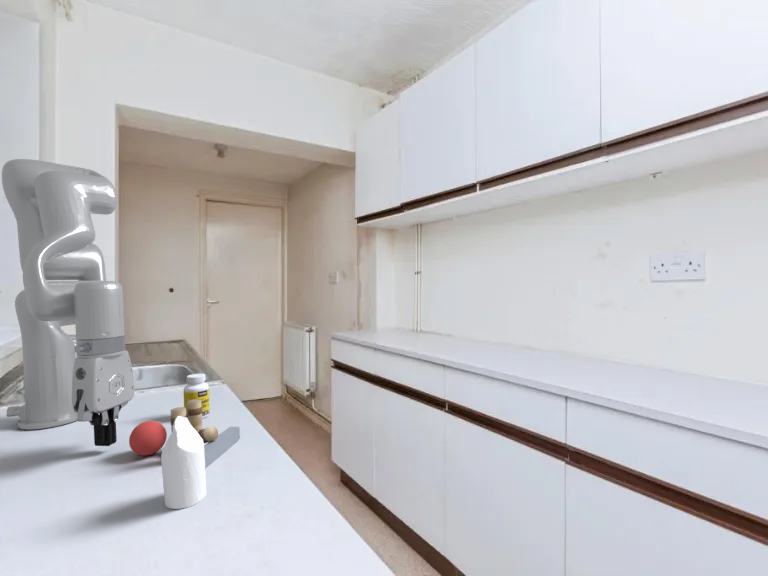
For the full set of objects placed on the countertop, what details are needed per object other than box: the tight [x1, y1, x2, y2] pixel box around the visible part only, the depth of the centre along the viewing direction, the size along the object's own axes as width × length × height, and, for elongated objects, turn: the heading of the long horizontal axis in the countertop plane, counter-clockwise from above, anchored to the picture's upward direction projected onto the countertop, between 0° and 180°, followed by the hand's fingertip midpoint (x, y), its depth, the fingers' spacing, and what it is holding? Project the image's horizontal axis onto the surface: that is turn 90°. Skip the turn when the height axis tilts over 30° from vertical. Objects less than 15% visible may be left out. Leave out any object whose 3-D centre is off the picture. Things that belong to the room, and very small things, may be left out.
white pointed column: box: [160, 416, 207, 510], centre depth 59 cm, size 6×12×6 cm
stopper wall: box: [204, 426, 241, 469], centre depth 75 cm, size 2×14×2 cm, turn 173°
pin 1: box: [170, 406, 186, 433], centre depth 73 cm, size 2×2×9 cm
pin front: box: [197, 425, 219, 444], centre depth 75 cm, size 2×2×9 cm
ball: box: [128, 420, 168, 457], centre depth 75 cm, size 6×6×6 cm
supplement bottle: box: [183, 373, 210, 420], centre depth 96 cm, size 5×5×10 cm
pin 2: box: [187, 399, 203, 431], centre depth 78 cm, size 2×2×9 cm
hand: (105, 444), depth 77 cm, fingers closed
